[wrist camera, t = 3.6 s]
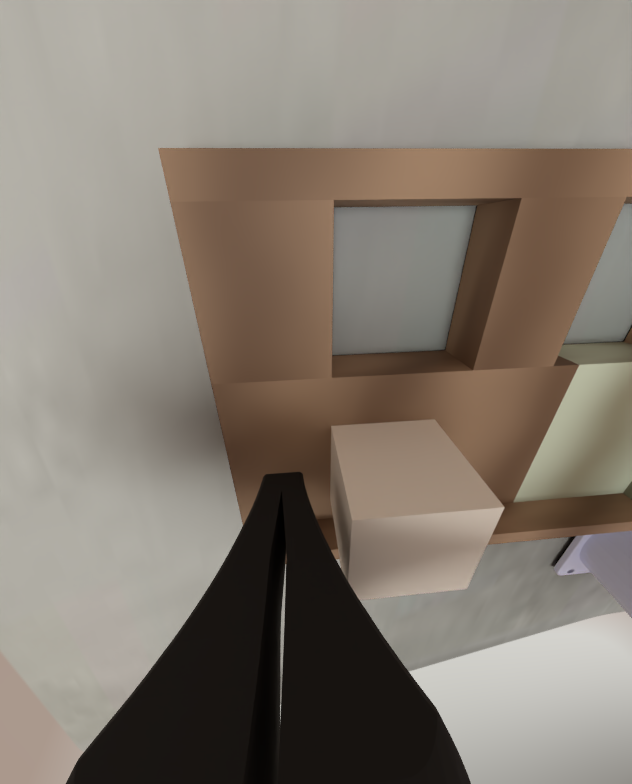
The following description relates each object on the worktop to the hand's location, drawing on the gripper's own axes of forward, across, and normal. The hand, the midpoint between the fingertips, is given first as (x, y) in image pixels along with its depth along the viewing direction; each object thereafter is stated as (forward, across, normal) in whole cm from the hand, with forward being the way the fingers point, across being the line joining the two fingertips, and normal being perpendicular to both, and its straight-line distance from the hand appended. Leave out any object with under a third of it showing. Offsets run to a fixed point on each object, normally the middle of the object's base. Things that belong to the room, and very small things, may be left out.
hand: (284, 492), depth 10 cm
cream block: (+1, -4, 0) cm, 4 cm away
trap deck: (+3, -8, -3) cm, 9 cm away
